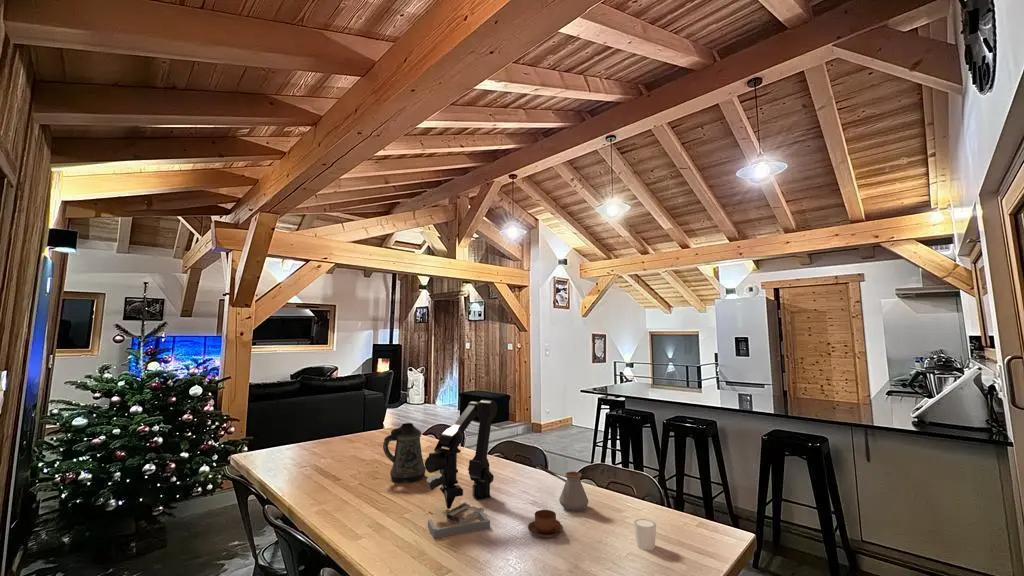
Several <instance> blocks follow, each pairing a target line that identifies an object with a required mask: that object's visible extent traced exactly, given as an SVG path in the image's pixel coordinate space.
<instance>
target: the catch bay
mask: <svg viewBox="0 0 1024 576" xmlns="http://www.w3.org/2000/svg"><path fill="white" fill-rule="evenodd" d="M478 520H479V521H474V522H468V523H467V522H466V523H462V524H456V525H450V526H445V527H443V526H442V527H436V525H435V523H434V522H433V519H428V520H427V529H428V530H429V533H430V535H431V536H432V538H433V539H436V538H442V537H449V536H455V535H459V534H465V533H470V532H471V533H472V532H476V531H483V530H489V529H491V521H490V519H489V518H488V516H487V515H485V513H484V512H482V511H480V512H479V516H478Z"/></svg>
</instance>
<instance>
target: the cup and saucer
mask: <svg viewBox="0 0 1024 576" xmlns="http://www.w3.org/2000/svg"><path fill="white" fill-rule="evenodd" d="M527 528H528V531H529V532H530V533H531V534H532V535H534V536H536V537H539V538H553V537H554V538H555V537H556V536H560V534H561V533H563V529H564V527H563V525H562V524H561V522H560V521H559V520H558V519H557V513H556V512H555V511H553V510H550V509H540V510H539V509H538V510H536V511H535V512H534V521H531V522H529V524H527Z"/></svg>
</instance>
